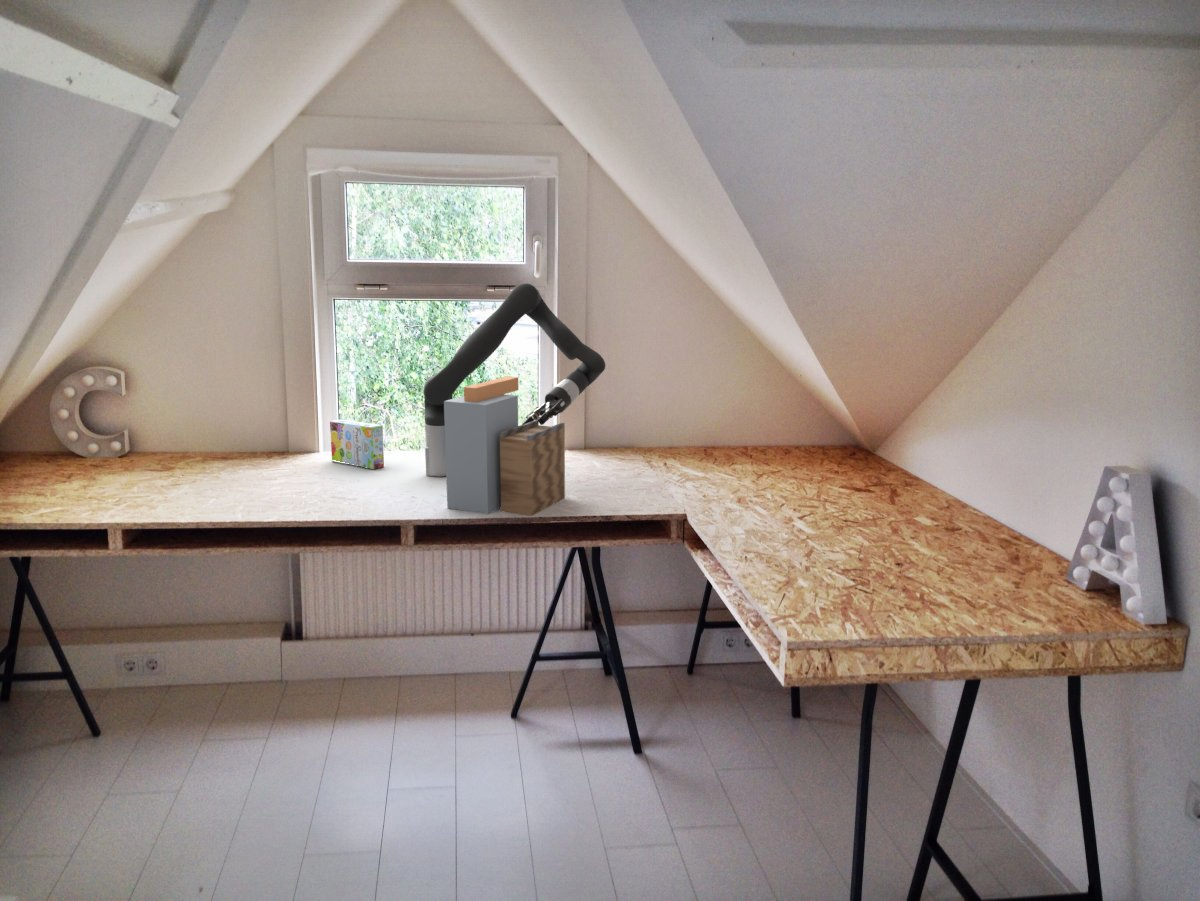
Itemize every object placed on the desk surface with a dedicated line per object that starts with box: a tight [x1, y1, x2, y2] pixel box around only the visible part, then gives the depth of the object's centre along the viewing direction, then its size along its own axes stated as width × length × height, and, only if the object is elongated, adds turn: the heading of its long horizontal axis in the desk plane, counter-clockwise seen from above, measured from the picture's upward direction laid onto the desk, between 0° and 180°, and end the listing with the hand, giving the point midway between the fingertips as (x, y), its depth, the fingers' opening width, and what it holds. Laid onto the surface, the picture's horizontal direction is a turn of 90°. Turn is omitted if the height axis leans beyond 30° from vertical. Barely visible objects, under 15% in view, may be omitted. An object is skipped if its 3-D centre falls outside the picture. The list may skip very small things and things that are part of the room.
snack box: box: [329, 419, 385, 470], centre depth 329 cm, size 21×6×15 cm, turn 58°
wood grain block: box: [500, 420, 566, 517], centre depth 279 cm, size 21×10×24 cm, turn 155°
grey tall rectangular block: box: [444, 394, 519, 515], centre depth 279 cm, size 18×14×32 cm
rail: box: [463, 376, 519, 402], centre depth 280 cm, size 24×4×4 cm, turn 155°
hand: (531, 424), depth 290 cm, fingers open, 8 cm apart
